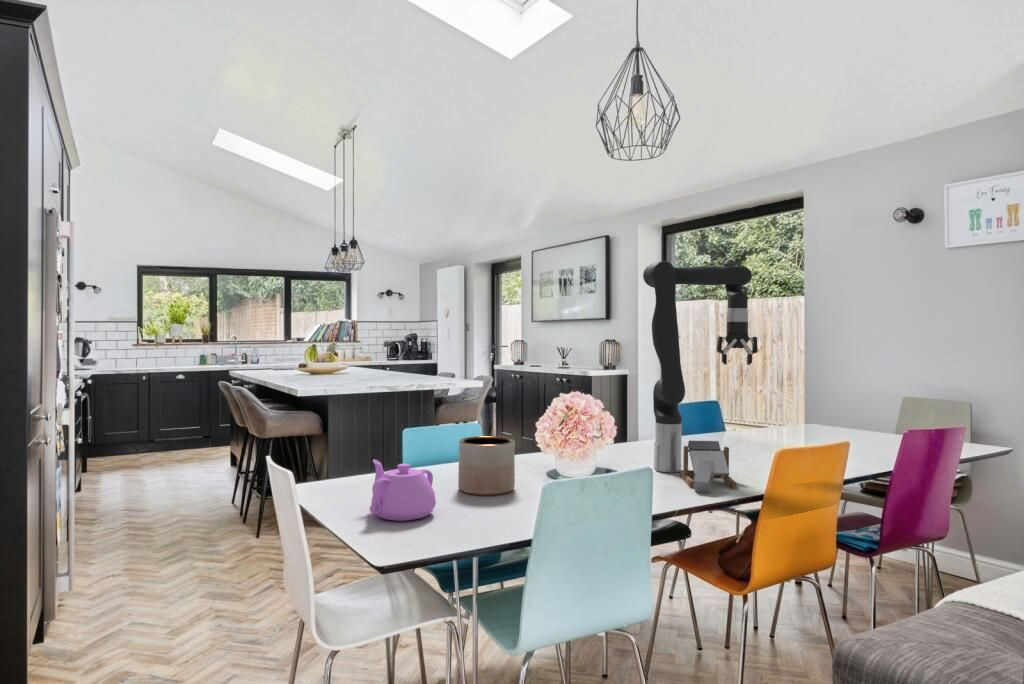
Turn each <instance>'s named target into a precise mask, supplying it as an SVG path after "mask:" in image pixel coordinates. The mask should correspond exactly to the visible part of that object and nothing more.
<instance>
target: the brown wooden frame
mask: <svg viewBox="0 0 1024 684" xmlns="http://www.w3.org/2000/svg"><path fill="white" fill-rule="evenodd" d="M690 451H719V450H689V448H688V445H683V459H682V461H683V462H682V463H683V464H682V465H683V468H682V469H681V470H680V472H679V474H680V478H681V479H682V480H683V481H684V482H685V483H686V485H687V486H688V488H690V489H695V487H694V479H692V478H695V475H694V471H693V469H692V470H691V469H690V470H689V452H690ZM722 451H723V452H724V456H725V459H726V463H727V467H728V470H729V471H730V447H729V446H723V450H722ZM714 478H720V479H721V480H723V482H725V483H726V484H727V485H728V487H730V488H731V489H733V490H737V484H738V483H737V482H736V481H735V480H734V479H733V478H732V477H731V476H730V474H729V475H714Z"/></svg>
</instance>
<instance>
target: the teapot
mask: <svg viewBox="0 0 1024 684" xmlns="http://www.w3.org/2000/svg"><path fill="white" fill-rule="evenodd" d="M372 462H373V464H374V468H375V478H374V483H373V485H372V489H371V490H372V491H371V492H372V497H371V502H370V503H371V505H370V506H369V511H370V513H371V514H372V515H377V517H379V518H380V519H384V520H388V521H398V522H407V521H412V520H413V521H414V520H418V519H422V518H423V519H424V518H426V517H427V516H428V515H430V513H432V511H433V510H434V508H436V501H437V500H436V493H435V491H434V489H433V480H434V475H433V473H432V472H431V470H429V469H425V468H424V469H423V468H422V469H415V468H411V464H410V463H399V464H397V465H396V467H397V468H396V469H390V470H386V472H385V471H384V467H383V465H382V463H381V462H380V461H379V460H378V459H372ZM425 474H426V475H425Z"/></svg>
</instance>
